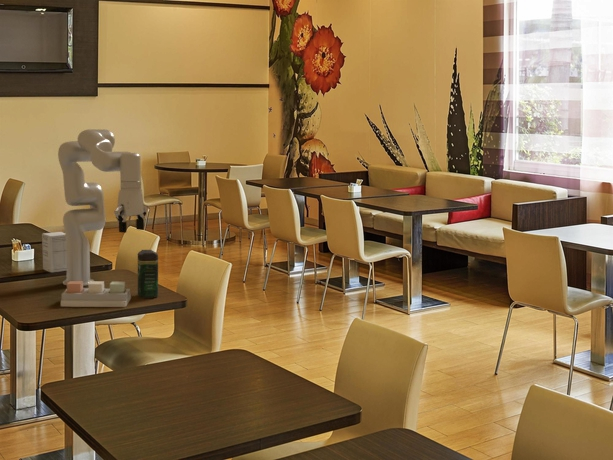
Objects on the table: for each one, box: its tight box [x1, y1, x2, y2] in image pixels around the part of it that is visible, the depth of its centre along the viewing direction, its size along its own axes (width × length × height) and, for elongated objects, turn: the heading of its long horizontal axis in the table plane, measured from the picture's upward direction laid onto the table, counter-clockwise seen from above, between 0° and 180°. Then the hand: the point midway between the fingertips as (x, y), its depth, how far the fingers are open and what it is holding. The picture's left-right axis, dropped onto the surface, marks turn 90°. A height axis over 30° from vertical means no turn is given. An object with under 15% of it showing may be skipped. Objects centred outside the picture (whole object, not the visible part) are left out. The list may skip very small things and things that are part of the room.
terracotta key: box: [66, 281, 84, 293], centre depth 315 cm, size 5×5×4 cm
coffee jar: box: [137, 249, 159, 299], centre depth 328 cm, size 10×8×19 cm
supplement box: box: [41, 231, 67, 273], centre depth 375 cm, size 10×9×17 cm
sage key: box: [109, 281, 126, 293], centre depth 316 cm, size 5×5×4 cm
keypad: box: [60, 287, 132, 308], centre depth 316 cm, size 13×24×4 cm, turn 93°
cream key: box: [87, 280, 105, 293], centre depth 315 cm, size 5×5×4 cm
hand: (131, 230), depth 312 cm, fingers open, 9 cm apart
